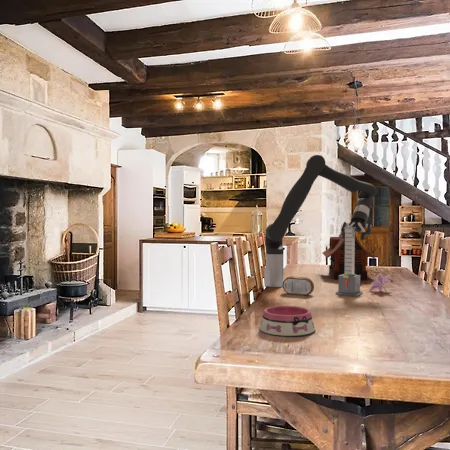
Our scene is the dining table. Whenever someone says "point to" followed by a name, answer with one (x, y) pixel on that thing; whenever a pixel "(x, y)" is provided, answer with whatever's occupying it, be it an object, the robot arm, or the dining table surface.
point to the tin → (298, 285)
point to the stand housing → (349, 285)
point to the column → (349, 250)
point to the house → (338, 258)
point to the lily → (380, 282)
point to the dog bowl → (287, 321)
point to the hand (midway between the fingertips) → (352, 239)
